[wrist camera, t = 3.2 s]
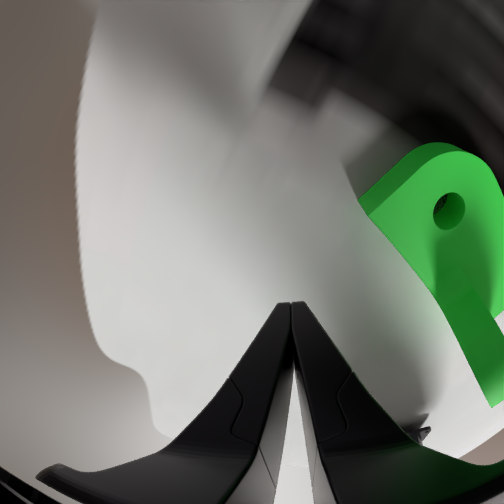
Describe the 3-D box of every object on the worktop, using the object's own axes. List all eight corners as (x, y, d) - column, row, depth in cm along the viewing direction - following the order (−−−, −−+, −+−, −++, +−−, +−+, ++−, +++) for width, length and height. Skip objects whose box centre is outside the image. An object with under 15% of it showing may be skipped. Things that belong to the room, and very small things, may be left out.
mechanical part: (516, 266, 14) (577, 348, 7) (454, 320, 16) (497, 416, 9) (443, 116, 10) (574, 168, 3) (356, 198, 13) (424, 321, 6)
